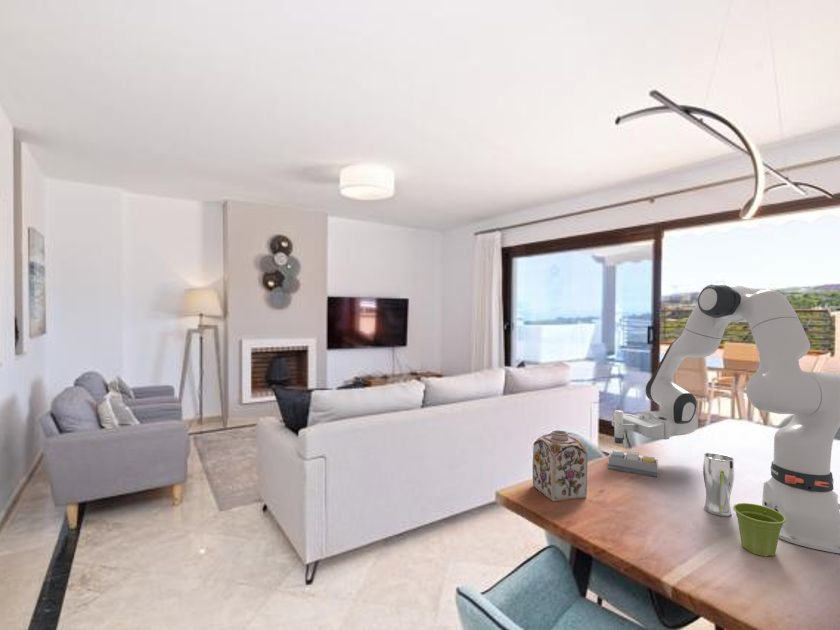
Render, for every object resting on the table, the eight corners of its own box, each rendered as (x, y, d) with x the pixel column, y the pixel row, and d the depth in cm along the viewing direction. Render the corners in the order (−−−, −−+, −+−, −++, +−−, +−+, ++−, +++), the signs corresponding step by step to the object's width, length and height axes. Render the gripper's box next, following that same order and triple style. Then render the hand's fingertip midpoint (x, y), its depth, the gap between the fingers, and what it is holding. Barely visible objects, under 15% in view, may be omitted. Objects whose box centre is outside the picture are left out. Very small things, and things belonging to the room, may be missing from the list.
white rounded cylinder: (622, 444, 150) (622, 412, 150) (614, 442, 151) (614, 411, 151) (623, 442, 152) (623, 410, 152) (614, 440, 154) (614, 409, 154)
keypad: (657, 477, 141) (657, 468, 141) (607, 468, 148) (607, 459, 148) (657, 464, 152) (657, 456, 152) (611, 457, 160) (611, 449, 159)
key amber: (654, 469, 145) (654, 460, 145) (642, 467, 147) (642, 458, 147) (654, 466, 149) (654, 457, 148) (642, 464, 150) (642, 455, 150)
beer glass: (703, 513, 116) (705, 458, 116) (700, 503, 122) (702, 450, 122) (735, 519, 113) (736, 462, 113) (730, 509, 119) (732, 454, 119)
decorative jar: (552, 502, 122) (553, 439, 122) (531, 486, 133) (532, 427, 133) (588, 498, 125) (589, 436, 125) (565, 482, 136) (566, 425, 136)
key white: (638, 463, 148) (638, 454, 148) (626, 461, 149) (626, 453, 149) (638, 460, 151) (639, 451, 151) (627, 458, 153) (627, 450, 153)
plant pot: (786, 567, 92) (787, 526, 92) (732, 551, 98) (732, 513, 98) (783, 547, 100) (784, 510, 100) (733, 534, 106) (733, 499, 105)
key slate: (622, 464, 150) (623, 455, 150) (611, 462, 152) (611, 453, 152) (623, 461, 153) (623, 452, 153) (612, 459, 155) (612, 451, 155)
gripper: (632, 408, 164) (599, 409, 162) (672, 421, 144) (635, 423, 142) (632, 425, 164) (599, 426, 162) (672, 440, 144) (635, 442, 142)
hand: (616, 425), depth 152 cm, fingers closed on white rounded cylinder, 3 cm apart
